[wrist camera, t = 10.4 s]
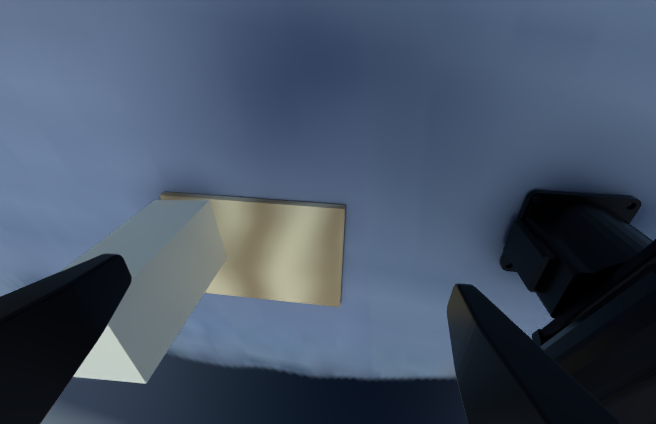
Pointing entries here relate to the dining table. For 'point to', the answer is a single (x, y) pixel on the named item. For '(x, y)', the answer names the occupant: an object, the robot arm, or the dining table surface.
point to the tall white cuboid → (154, 285)
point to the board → (277, 248)
